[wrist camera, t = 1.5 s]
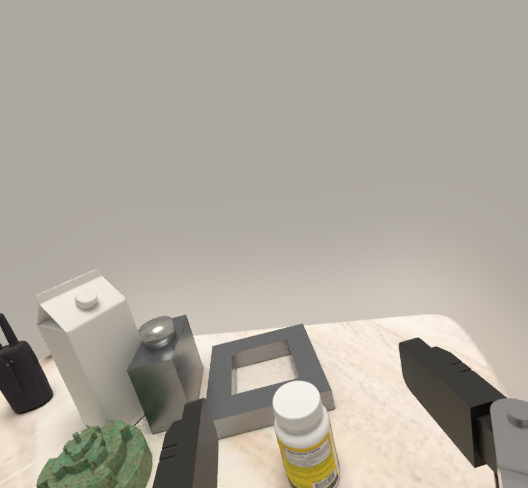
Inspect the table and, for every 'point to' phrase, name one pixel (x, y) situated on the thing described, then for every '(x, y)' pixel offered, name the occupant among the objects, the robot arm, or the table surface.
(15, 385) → the two-way radio
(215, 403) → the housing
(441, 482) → the table surface
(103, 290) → the milk carton
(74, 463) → the decorative artifact
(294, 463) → the supplement bottle
